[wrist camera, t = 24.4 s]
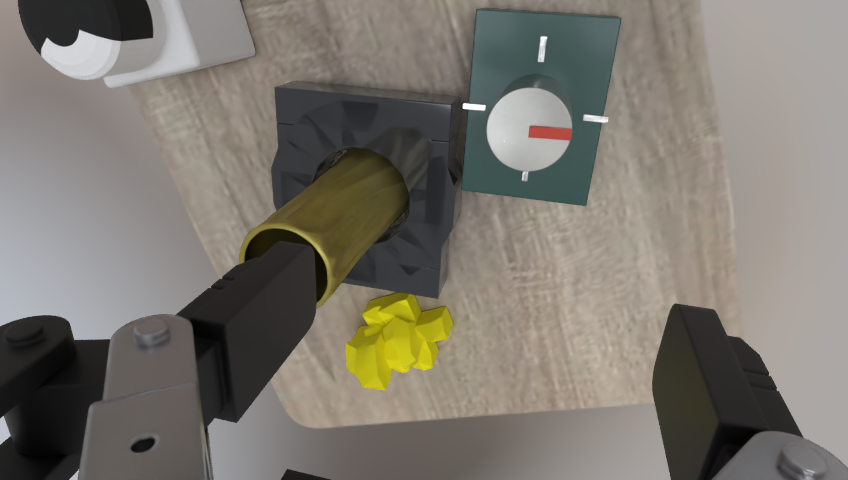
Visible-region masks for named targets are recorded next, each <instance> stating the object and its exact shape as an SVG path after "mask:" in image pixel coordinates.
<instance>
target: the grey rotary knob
mask: <svg viewBox="0 0 848 480" xmlns="http://www.w3.org/2000/svg"><path fill="white" fill-rule="evenodd" d="M486 135H487V140H488V144H489V146H490V149H491V150H492V152H493V154H494V155H495V156H496V157H497V158H498V159H499V161H501V162H502V163H503V164H505V165H506V166H508V167H510V168H512V169H515V170H519V171H529V172H530V171H537V170H541V169H544V168H547V167H549V166H551V165H552V164H554V163H555V162H556V161H557V160H559V159H560V158H561V156H562V155H563V154H564V153H565V151H566V150H567V148H568V146H569V143H570V140H571V136H572V107H571V101H570V98H569V95H568V93H567V92H566V90H565V89H564V87H563V86H562V85H561V84H560V83H558V82H557V81H556V80H554V79H552V78H550V77H548V76H544V75H527V76H524V77H521V78H519V79H517V80H515V81H514V82H512V83H511V84H510V85H509V86H508V87H507V88H506V89H505V90H504V92H503V93H502V95H501V96H500V98H499V99H498V101H497V102H496V104H495V105H494V107H493V108H492V110H491V112H490V114H489V117H488V120H487V126H486Z"/></svg>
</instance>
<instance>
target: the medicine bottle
mask: <svg viewBox="0 0 848 480" xmlns="http://www.w3.org/2000/svg"><path fill="white" fill-rule="evenodd" d="M18 7H19V14H20V18H21V22H22V25H23V27H24V30H25V32H26V34H27V36H28V38H29V40H30V42H31V43H32V45H33V46H34V48H35V49H36V51H37V52H38V53H39V54H40V55H41V56H42V57H43V58H44V59H45V60H46V61H47V62H48V63H49V64H51V65H52V66H53V67H54V68H55V69H57V70H58V71H60V72H61V73H63V74H65V75H67V76H70V77H72V78H76V79H81V80H91V79H97V78H103V79H104V81H105V84H106V85H107V86H108V87H110V88H116V87H121V86H126V85H130V84H135V83H140V82H145V81H150V80H155V79H159V78H164V77H169V76H174V75H179V74H183V73H187V72H191V71H195V70H199V69H203V68H208V67H212V66H216V65H220V64H224V63H228V62H232V61H236V60H240V59H245V58H249V57H252V56H254V55H255V53H256V51H255V47H254V44H253V41H252V37H251V34H250V31H249V28H248V25H247V21H246V18H245V15H244V12H243V9H242V6H241V2H240V0H18Z"/></svg>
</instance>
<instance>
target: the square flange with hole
mask: <svg viewBox="0 0 848 480" xmlns="http://www.w3.org/2000/svg"><path fill="white" fill-rule="evenodd" d="M275 102H276V118H277V134H278V150H277V153H276V156H275V159H274V161H273V164H272V167H271V168H272V169H271V172H272V186H273V201H274V205H275V208H276V210H277V211H278V210H279V209H280V208H282V207H283V206H284V205H285V204H287V203H288V202H289V201H291V200H292V199H293V198H295V197H296V196H297V195H299V194H300V193H301V192H303V191H304V190H305V189H306V188H307V187H309V186H310V185H311V184H313V183H314V182H315V181H316V180H317V179H318V178H319V177H320V176H322V175H323V174H324V173H325V172H326V171H328V170H329V169H330V166H331V164H332V161H333V159H334V156H335V154H336V153H337V152H338V151H341V150H344V149H347V148H350V147H352V148H360V149H369V150H372V151H374V152H375V153H377V154H379V155H381V156H383V157H385V158H387V159H388V160H389V161H390V162H391V163H392V164H393V165H394V166H395V168H396V169H397V170H398V171H399V172H400V173H401V174H402V176H403V179H404V182H405V184H406V187H407V190H408V193H409V214H408V216H407V218H406V219H405V220H404V221H403V222H402V223H400V224H399V225H397V226H393V227H389V228H388V229H387V230H386V231H385V232H384V233H383V234H382V235H381V236H380V237H379V238H378V239H377V240H376V241H375V242H374V243H373V244H372V245H371V246H370V247H369V249H368V250H367V251H366V252H365V253H364V254H363V255H362V256H361V258H360V259H359V260H358V261H357V263H356V264H355V265H354V267H353V268H352V269H351V271H350V272H349V273H348V275H347V276H346V277H345V279H344V280H343V281H342V283H347V284H353V285H359V286H365V287H371V288H377V289H383V290H389V291H395V292H401V293H407V294H413V295H418V296H424V297H430V298H436V299H438V298H439V296H440V293H441V291H442V288H443V286H444V284H445V281H446V277H447V264H448V251H449V238H450V233H451V231H452V229H453V227H454V225H455V223H456V221H457V219H458V217H459V215H460V210H461V198H462V190H461V186H462V174H461V171H460V168H459V164H458V161H457V158H456V148H457V135H458V132H457V131H458V121H459V108H460V97H459V96H449V95H439V94H428V93H418V92H407V91H397V90H386V89H375V88H365V87H354V86H344V85H333V84H322V83H312V82H301V81H293V82H290V83H286V84H283V85H280V86H277V87H275Z"/></svg>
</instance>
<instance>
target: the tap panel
mask: <svg viewBox="0 0 848 480" xmlns="http://www.w3.org/2000/svg"><path fill="white" fill-rule="evenodd" d="M620 24H621V18H619V17H617V16H607V15H591V14H574V13H558V12H542V11H526V10H510V9H494V8H480V9H477V10H476V20H475V32H474V44H473V56H472V67H471V79H470V91H469V103H463V109H468V115H467V127H466V139H465V151H464V162H463V174H462V186H461V190H465V191H473V192H481V193H488V194H496V195H504V196H512V197H520V198H528V199H535V200H543V201H551V202H559V203H567V204H574V205H582V206H586V204H587V199H588V193H589V188H590V183H591V177H592V172H593V167H594V161H595V156H596V151H597V146H598V140H599V135H600V130H601V124H602V123H608V118H609V117H608V116H603V114H604V108H605V103H606V98H607V93H608V87H609V82H610V77H611V71H612V66H613V61H614V55H615V50H616V45H617V39H618V34H619V29H620ZM527 75H544V76H548V77H550V78H552V79H554V80H556V81H557V82H558V83H560V84H561V85H562V86H563V87H564V89H565V90H566V92H567V93H568V95H569V98H570V101H571V107H572V136H571V140H570V143H569V146H568V148H567V150H566V151H565V153H564V154H563V155H562V156H561V158H560V159H559V160H557V161H556V162H555V163H554V164H552V165H551V166H549V167H547V168H544V169H541V170H537V171H530V172H529V171H519V170H515V169H512V168H510V167H508V166H506V165H505V164H503V163H502V162H501V161H499V159H498V158H497V157H496V156H495V155H494V154H493V152H492V150H491V149H490V146H489V144H488V140H487V135H486V126H487V120H488V117H489V114H490V112H491V110H492V108H493V107H494V105H495V104H496V102H497V101H498V99H499V98H500V96H501V95H502V93H503V92H504V90H505V89H506V88H507V87H508V86H509V85H510V84H511V83H512V82H514V81H515V80H517V79H519V78H521V77H524V76H527Z"/></svg>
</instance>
